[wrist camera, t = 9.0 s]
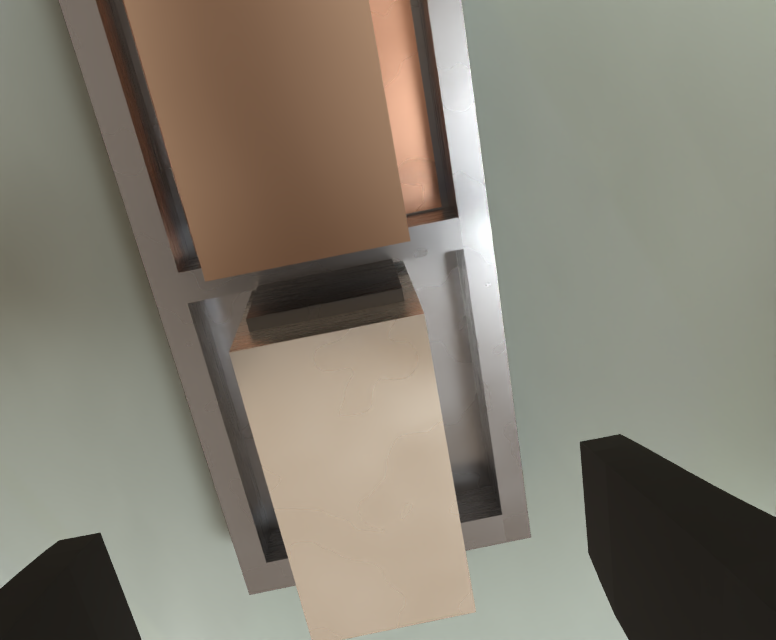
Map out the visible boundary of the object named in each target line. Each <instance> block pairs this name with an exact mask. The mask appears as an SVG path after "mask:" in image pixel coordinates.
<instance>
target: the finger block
mask: <svg viewBox="0 0 776 640" xmlns="http://www.w3.org/2000/svg"><path fill="white" fill-rule="evenodd" d="M124 3H125V7H126V10H127V13H128V17H129V20H130V24H131V27H132V31H133V34H134V38H135V41H136V44H137V48H138V51H139V55H140V58H141V62H142V65H143V69H144V72H145V75H146V79H147V82H148V86H149V89H150V93H151V96H152V100H153V103H154V106H155V110H156V113H157V117H158V120H159V124H160V127H161V131H162V134H163V137H164V141H165V144H166V148H167V151H168V155H169V158H170V162H171V165H172V168H173V172H174V175H175V179H176V182H177V186H178V189H179V193H180V196H181V199H182V203H183V206H184V210H185V213H186V217H187V220H188V224H189V227H190V230H191V234H192V237H193V241H194V244H195V248H196V251H197V255H198V258H199V261H200V265H201V268H202V272H203V275H204V279H205V282H206V281H211V280H216V279H221V278H227V277H232V276H237V275H242V274H247V273H252V272H257V271H262V270H267V269H272V268H277V267H282V266H287V265H292V264H297V263H302V262H307V261H312V260H318V259H323V258H328V257H333V256H338V255H343V254H348V253H353V252H358V251H363V250H368V249H373V248H378V247H383V246H388V245H393V244H398V243H403V242H409V241H410V235H409V229H408V224H407V218H406V212H405V206H404V201H403V195H402V189H401V183H400V178H399V172H398V166H397V160H396V154H395V149H394V143H393V137H392V131H391V126H390V120H389V114H388V108H387V103H386V97H385V91H384V85H383V80H382V74H381V68H380V62H379V57H378V51H377V45H376V39H375V34H374V28H373V22H372V16H371V11H370V5H369V0H124Z"/></svg>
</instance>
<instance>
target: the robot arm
mask: <svg viewBox="0 0 776 640" xmlns="http://www.w3.org/2000/svg"><path fill="white" fill-rule="evenodd" d="M580 450H581V463H582V476H583V489H584V502H585V515H586V527H587V540H588V553H589V556H590V558H591V560H592V563H593V565H594V568H595V570H596V572H597V575H598V577H599V580H600V582H601V584H602V587H603V589H604V591H605V594H606V596H607V598H608V600H609V603H610V605H611V607H612V610H613V612H614V614H615V616H616V618H617V620H618V621H619V623H620V625H621V627H622V629H623V630H624V632H625V634H626V636H627V637H628V639H629V640H776V517H774V516H772V515H770V514H768V513H766V512H764V511H762V510H760V509H758V508H756V507H754V506H752V505H750V504H748V503H746V502H744V501H742V500H740V499H738V498H736V497H735V496H733V495H731V494H729V493H727V492H725V491H723V490H721V489H719V488H718V487H716V486H714V485H712V484H710V483H708V482H706V481H705V480H703V479H701V478H699V477H697V476H695V475H694V474H692V473H690V472H688V471H686V470H685V469H683V468H681V467H679V466H678V465H676V464H674V463H672V462H670V461H669V460H667V459H665V458H663V457H661V456H660V455H658V454H656V453H654V452H653V451H651V450H649V449H647V448H645V447H644V446H642V445H640V444H638V443H636V442H634V441H632V440H631V439H629V438H627V437H625V436H623V435H621V434H619V435H613V436H608V437H603V438H598V439H592V440H587V441H582V442H580ZM0 640H141V637H140V634H139V632H138V629H137V627H136V624H135V621H134V619H133V616H132V614H131V611H130V608H129V606H128V603H127V601H126V598H125V596H124V593H123V590H122V588H121V585H120V583H119V580H118V577H117V575H116V572H115V570H114V567H113V564H112V562H111V559H110V557H109V554H108V551H107V549H106V546H105V544H104V541H103V538H102V536H101V533H96V534H91V535H85V536H80V537H75V538H70V539H64V540H59V541H58V542H57V543H55V544H54V545H53V546H51V547H50V548H48V549H47V550H46V551H45V552H43V553H42V554H41V555H40V556H38V557H37V558H36V559H35V560H33V561H32V562H31V563H30V564H29V565H27V566H26V567H25V568H24V569H23V570H22V571H20V572H19V573H18V574H17V575H16V576H15V577H13V578H12V579H11V580H10V581H9V582H8V583H6V584H5V585H4V586H3V587H2V588H1V589H0Z"/></svg>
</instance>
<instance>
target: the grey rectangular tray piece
mask: <svg viewBox="0 0 776 640" xmlns="http://www.w3.org/2000/svg"><path fill="white" fill-rule="evenodd" d="M59 3H60V6H61V10H62V13H63V16H64V19H65V22H66V25H67V28H68V31H69V34H70V38H71V41H72V44H73V47H74V50H75V53H76V56H77V59H78V63H79V66H80V69H81V72H82V75H83V78H84V81H85V84H86V87H87V91H88V94H89V97H90V100H91V103H92V106H93V109H94V112H95V115H96V119H97V122H98V125H99V128H100V131H101V134H102V137H103V140H104V143H105V147H106V150H107V153H108V156H109V159H110V162H111V165H112V168H113V171H114V175H115V178H116V181H117V184H118V187H119V190H120V193H121V196H122V199H123V203H124V206H125V209H126V212H127V215H128V218H129V221H130V224H131V227H132V231H133V234H134V237H135V240H136V243H137V246H138V249H139V252H140V255H141V259H142V262H143V265H144V268H145V271H146V274H147V277H148V280H149V284H150V287H151V290H152V293H153V296H154V299H155V302H156V305H157V308H158V312H159V315H160V318H161V321H162V324H163V327H164V330H165V333H166V336H167V340H168V343H169V346H170V349H171V352H172V355H173V358H174V361H175V364H176V368H177V371H178V374H179V377H180V380H181V383H182V386H183V389H184V392H185V396H186V399H187V402H188V405H189V408H190V411H191V414H192V417H193V420H194V424H195V427H196V430H197V433H198V436H199V439H200V442H201V445H202V448H203V452H204V455H205V458H206V461H207V464H208V467H209V470H210V473H211V476H212V480H213V483H214V486H215V489H216V492H217V495H218V498H219V501H220V504H221V508H222V511H223V514H224V517H225V520H226V523H227V526H228V529H229V533H230V536H231V539H232V542H233V545H234V548H235V551H236V554H237V557H238V561H239V564H240V567H241V570H242V573H243V576H244V579H245V582H246V585H247V589H248V592H249V595H251V594H256V593H261V592H266V591H271V590H276V589H281V588H286V587H290V586H295V585H296V587H297V590H298V594H299V597H300V601H301V604H302V608H303V611H304V615H305V618H306V622H307V625H308V628H309V632H310V635H311V639H312V640H343V639H347V638H352V637H357V636H362V635H367V634H372V633H377V632H381V631H386V630H391V629H396V628H401V627H406V626H410V625H415V624H420V623H425V622H430V621H435V620H440V619H444V618H449V617H454V616H459V615H464V614H469V613H474V612H476V609H475V604H474V598H473V592H472V586H471V580H470V575H469V569H468V563H467V557H466V550H471V549H476V548H481V547H486V546H491V545H496V544H501V543H506V542H510V541H515V540H520V539H525V538H530V537H531V534H530V526H529V518H528V510H527V503H526V495H525V487H524V480H523V472H522V464H521V456H520V449H519V441H518V433H517V425H516V418H515V410H514V402H513V395H512V387H511V379H510V371H509V364H508V356H507V348H506V340H505V333H504V325H503V317H502V310H501V302H500V294H499V286H498V279H497V271H496V263H495V255H494V248H493V240H492V232H491V225H490V217H489V209H488V201H487V194H486V186H485V178H484V170H483V163H482V155H481V147H480V140H479V132H478V124H477V116H476V109H475V101H474V93H473V85H472V78H471V70H470V62H469V55H468V47H467V39H466V31H465V24H464V16H463V8H462V0H369V5H370V11H371V16H372V22H373V28H374V34H375V39H376V45H377V51H378V57H379V62H380V68H381V74H382V80H383V85H384V91H385V97H386V103H387V108H388V114H389V120H390V126H391V131H392V137H393V143H394V149H395V154H396V160H397V166H398V172H399V178H400V183H401V189H402V195H403V201H404V206H405V212H406V218H407V224H408V229H409V235H410V241H409V242H403V243H398V244H393V245H388V246H383V247H378V248H373V249H368V250H363V251H358V252H353V253H348V254H343V255H338V256H333V257H328V258H323V259H318V260H312V261H307V262H302V263H297V264H292V265H287V266H282V267H277V268H272V269H267V270H262V271H257V272H252V273H247V274H242V275H237V276H232V277H227V278H221V279H216V280H211V281H206V282H205V279H204V275H203V272H202V268H201V265H200V261H199V258H198V255H197V251H196V248H195V244H194V241H193V237H192V234H191V230H190V227H189V224H188V220H187V217H186V213H185V210H184V206H183V203H182V199H181V196H180V193H179V189H178V186H177V182H176V179H175V175H174V172H173V168H172V165H171V162H170V158H169V155H168V151H167V148H166V144H165V141H164V137H163V134H162V131H161V127H160V124H159V120H158V117H157V113H156V110H155V106H154V103H153V100H152V96H151V93H150V89H149V86H148V82H147V79H146V75H145V72H144V69H143V65H142V62H141V58H140V55H139V51H138V48H137V44H136V41H135V38H134V34H133V31H132V27H131V24H130V20H129V17H128V13H127V10H126V7H125V3H124V0H59Z"/></svg>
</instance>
